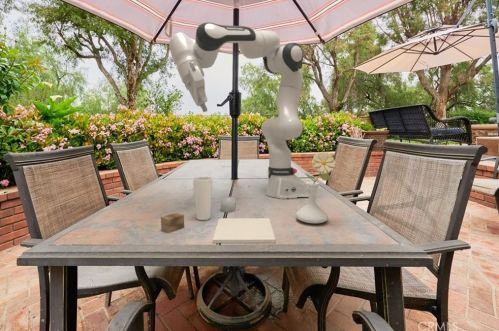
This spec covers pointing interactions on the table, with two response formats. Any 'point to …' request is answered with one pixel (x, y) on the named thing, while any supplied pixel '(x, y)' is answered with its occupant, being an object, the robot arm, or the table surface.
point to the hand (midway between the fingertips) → (205, 106)
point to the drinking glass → (203, 197)
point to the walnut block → (172, 222)
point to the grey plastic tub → (228, 204)
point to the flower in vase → (312, 210)
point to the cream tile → (244, 230)
